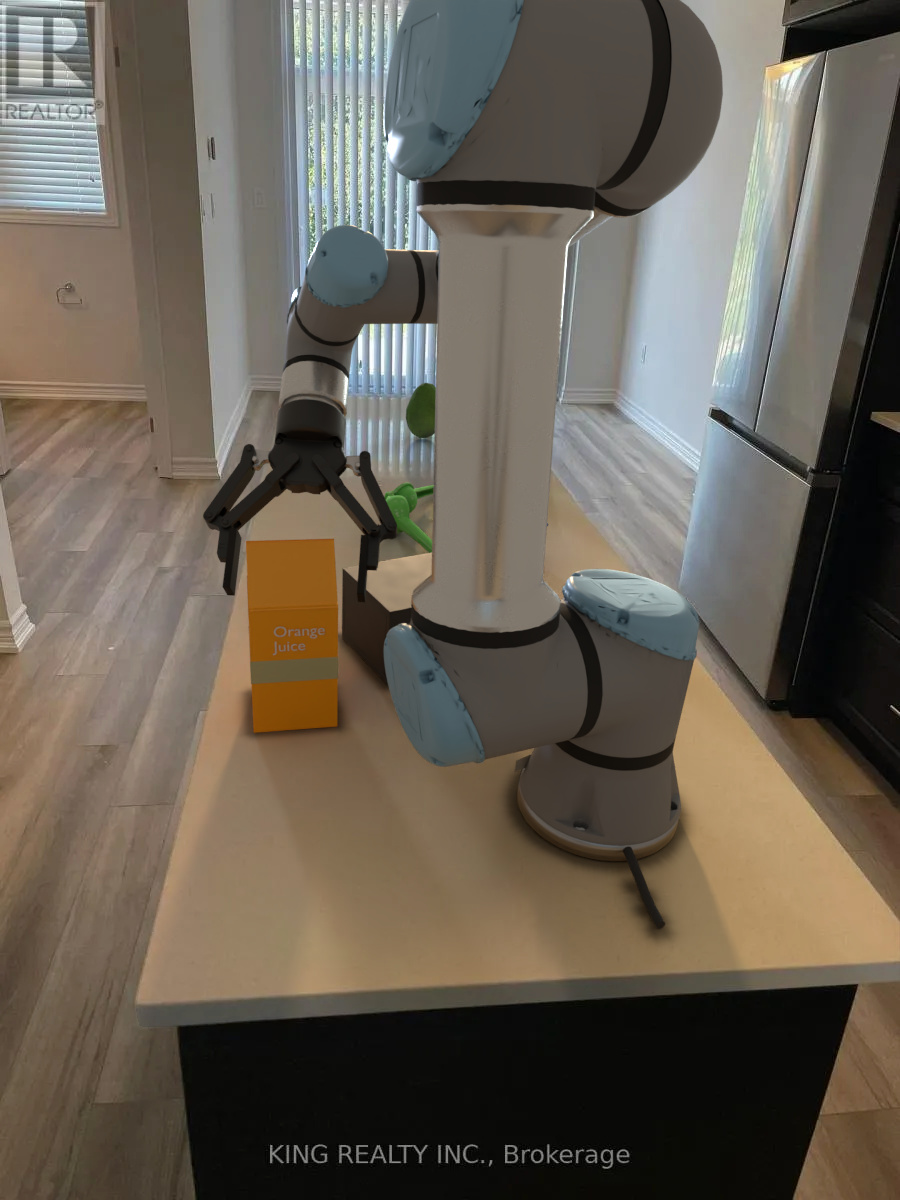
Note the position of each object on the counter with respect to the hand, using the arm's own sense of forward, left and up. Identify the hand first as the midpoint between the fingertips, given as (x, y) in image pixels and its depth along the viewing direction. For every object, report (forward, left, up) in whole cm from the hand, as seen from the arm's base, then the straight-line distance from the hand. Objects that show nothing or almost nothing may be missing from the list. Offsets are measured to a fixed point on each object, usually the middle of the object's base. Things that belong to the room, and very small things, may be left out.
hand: (295, 595), depth 89 cm
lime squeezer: (+47, -30, -13) cm, 57 cm away
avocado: (+96, -48, -7) cm, 108 cm away
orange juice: (-1, +1, -13) cm, 14 cm away
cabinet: (+8, -17, -13) cm, 23 cm away
